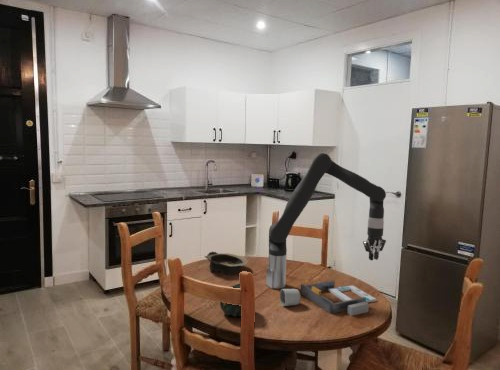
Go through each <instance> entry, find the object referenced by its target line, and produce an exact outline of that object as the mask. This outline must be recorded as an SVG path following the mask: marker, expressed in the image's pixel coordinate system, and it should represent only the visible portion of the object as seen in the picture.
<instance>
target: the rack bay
mask: <svg viewBox="0 0 500 370" xmlns="http://www.w3.org/2000/svg"><path fill="white" fill-rule="evenodd" d="M335 283H336V282H335V280H333V279H332V280H329V281H328V280H327V281H321V282H316V283H309V284H304V283H301V284H300V294H301V296H304V297H305V298H306V299H308V300H309V301H312V302H313V303H314V304H316V305H318V306H319V307H320V308H322V309H323V310H325V311H326V312H328V313H330V314H336V313H341V312H347V311H348V305H352V304H357V303H361V302H366V298H365V297H357V298H354V299H353V298H351V299H352V300H347V301H343V300H342V301H337V302H333V301H332V300H330V299H328V298H327V297H325V296H324V295H322V291H328V289H330V288H335Z"/></svg>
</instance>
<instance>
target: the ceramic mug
mask: <svg viewBox="0 0 500 370" xmlns="http://www.w3.org/2000/svg"><path fill="white" fill-rule="evenodd" d="M279 301H280V302H279V303H280V305H281V306H282V307H289V306H297V305H299V304H301V301H302V294H301V291H300V290H299V289H296V288H281V289H280V292H279Z"/></svg>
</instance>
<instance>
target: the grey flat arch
mask: <svg viewBox="0 0 500 370" xmlns="http://www.w3.org/2000/svg"><path fill="white" fill-rule="evenodd" d="M350 290H351V291H350ZM327 291H328V292H329V293H331V294H332V295H334V296H335V297H336V298H337V299H340V300H341V301H342V302H343V301H347V300H352V299H353V298H351V297H349V296H348V295H346V294H344V293H343V292H349V291H350V292H352V293H354V294H356V295H357V296H358V297H359V298H362V297H365V298H366V302H367V303H368V304H369V303H373V302H376V301H377V298H376V297H374V296H372V295H371V294H369V293H367V292H365V291H363V290H362V289H360V288H358V287H357V286H355V285H347V286H346V285H344V286H338V287H334V288H330V289H328V290H327Z"/></svg>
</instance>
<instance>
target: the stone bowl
mask: <svg viewBox="0 0 500 370" xmlns="http://www.w3.org/2000/svg"><path fill="white" fill-rule="evenodd" d="M204 258H206V259H207V260H208V261H209V262H210V263H209V271H211V272H221V273H222V275H226V276H229V275H233V274H235V273H239V272H240V270H241V269H242V267H243V266H245V265H247V263H248V259H247V258H245V257H243V256H240V255H237V254H233V253H221V252H220V253H218V252H216V251H211V252H209V253H208V254H207V255H205V256H204Z"/></svg>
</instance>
